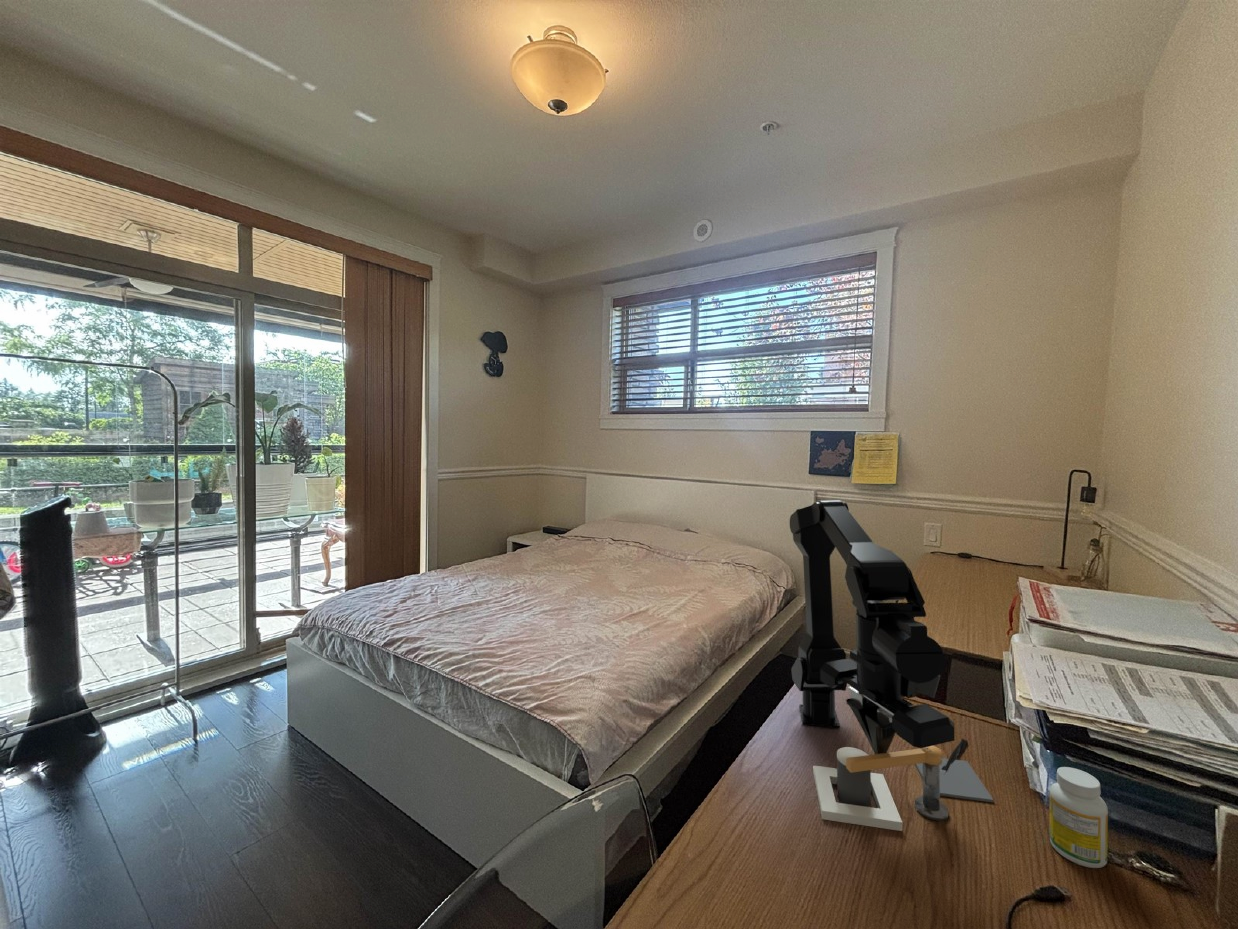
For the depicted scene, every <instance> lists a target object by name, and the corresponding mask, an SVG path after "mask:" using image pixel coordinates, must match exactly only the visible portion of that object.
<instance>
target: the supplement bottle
mask: <svg viewBox="0 0 1238 929" xmlns="http://www.w3.org/2000/svg"><path fill="white" fill-rule="evenodd" d="M1056 781H1057V782H1055V783H1053V784H1051V786H1050V789H1049V841H1050V844H1051V846H1052V847H1053V848H1054V850H1055V851H1056V852H1057V853H1058V854H1060V855H1061V856H1062V857H1064V858H1065V859H1066V860H1068V861H1070V862H1073V863H1074V864H1076V865H1079V866H1082V867H1086V868H1089V869H1091V868H1092V869H1100V868H1103V867H1105V866H1106V865H1107V864H1108V829H1109V828H1108V826H1109V825H1108V822H1109V821H1108V820H1109V810H1108V806H1107V804H1106V802H1105V800H1104V799H1103V798H1102V797H1101V783H1100V781H1099V780H1098V779H1097V778H1096V777H1095V776H1093V775H1092V774H1090V773H1088V772H1086V771H1083V770H1081V769H1078V768H1075V767H1069V766H1060V767H1058V768H1057V771H1056Z"/></svg>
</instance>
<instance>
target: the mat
mask: <svg viewBox="0 0 1238 929" xmlns="http://www.w3.org/2000/svg"><path fill="white" fill-rule="evenodd" d="M948 760H949V758H943V757H942V764H941V765H939V773H940V797H949V798H954V799H955V798H956V799H963V800H970V801H979V802H985V803H986V802H987V803H995V802H994V801H995V800H994V798H993V796H992V795H991V794H990V792H989V791H988V789H987V788H986V787H985V785H984V784H983V782H982V781H981V779H980V778H979V776H978V775H977V773H976V772H975V770H974V769H973V767H972V766H971V765H970V763H969V762H968V761H967V760H963V759H962V760H959V759H957V760H955V761H954V762H953V763H952V764H951V763H950V766H949V768H948V770H947V771H946V772H945V774H944V771H945V770H942V767H943V766H946V764H947V762H948ZM952 760H953V759H952ZM951 762H952V761H951ZM914 766H915V767H916V768H917V771H918V772H919V775H920V777H921V779H922V780H923V763H920V764H914ZM941 770H942V771H941Z"/></svg>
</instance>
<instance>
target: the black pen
mask: <svg viewBox="0 0 1238 929" xmlns="http://www.w3.org/2000/svg"><path fill="white" fill-rule="evenodd" d="M968 743H969V742H968V740H966V739H965V738H961V740H960V742H959V743H958V744H957V746H956V747H955V749H954V750H953V751H952V752H951V754H950V756H949V758H948V759H949V760H948V762H947V764H946V766H943V767H942V770H945V771H944V774H945V772H946V771H947V770H948V768H949V766H950V763H951V764H952V763H953V762H954V761H955V760H959V757H961V754H963V752H964V750H965V748H966V747H967V744H968ZM952 759H953V760H952ZM951 761H952V762H951ZM942 770H941V771H942Z"/></svg>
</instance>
